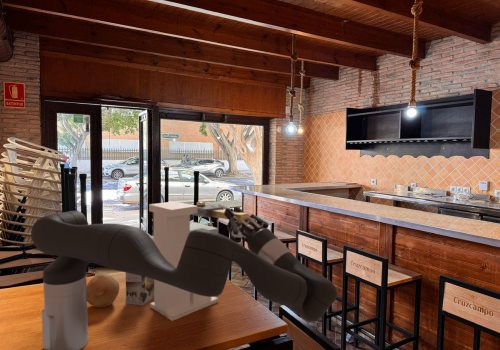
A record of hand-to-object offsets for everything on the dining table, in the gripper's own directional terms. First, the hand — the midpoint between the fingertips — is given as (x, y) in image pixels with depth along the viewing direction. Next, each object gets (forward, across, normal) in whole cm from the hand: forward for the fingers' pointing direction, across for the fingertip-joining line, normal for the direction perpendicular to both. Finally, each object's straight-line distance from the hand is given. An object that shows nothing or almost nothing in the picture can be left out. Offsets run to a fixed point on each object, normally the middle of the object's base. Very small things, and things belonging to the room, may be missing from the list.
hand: (230, 209), depth 98 cm
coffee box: (+9, -13, -42) cm, 44 cm away
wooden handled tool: (+3, 0, -5) cm, 6 cm away
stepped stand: (-2, -5, -35) cm, 35 cm away
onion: (+12, -24, -44) cm, 51 cm away
